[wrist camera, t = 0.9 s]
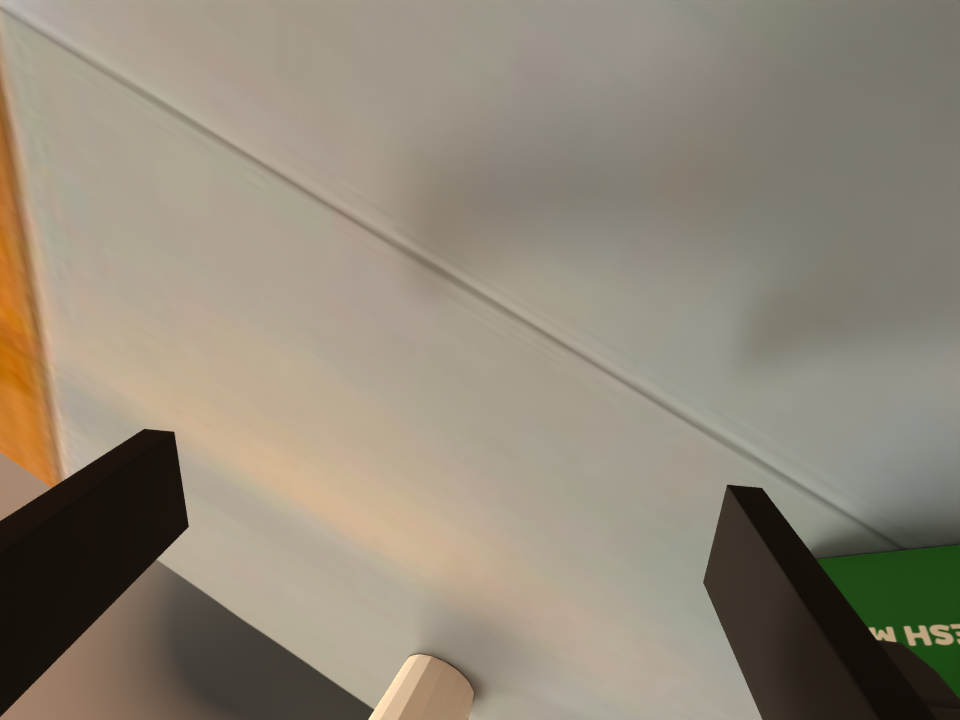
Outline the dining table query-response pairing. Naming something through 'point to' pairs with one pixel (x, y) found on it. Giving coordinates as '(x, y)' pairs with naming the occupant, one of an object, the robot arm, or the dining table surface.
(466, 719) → the beige tapered cylinder
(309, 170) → the dining table surface
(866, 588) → the milk carton
